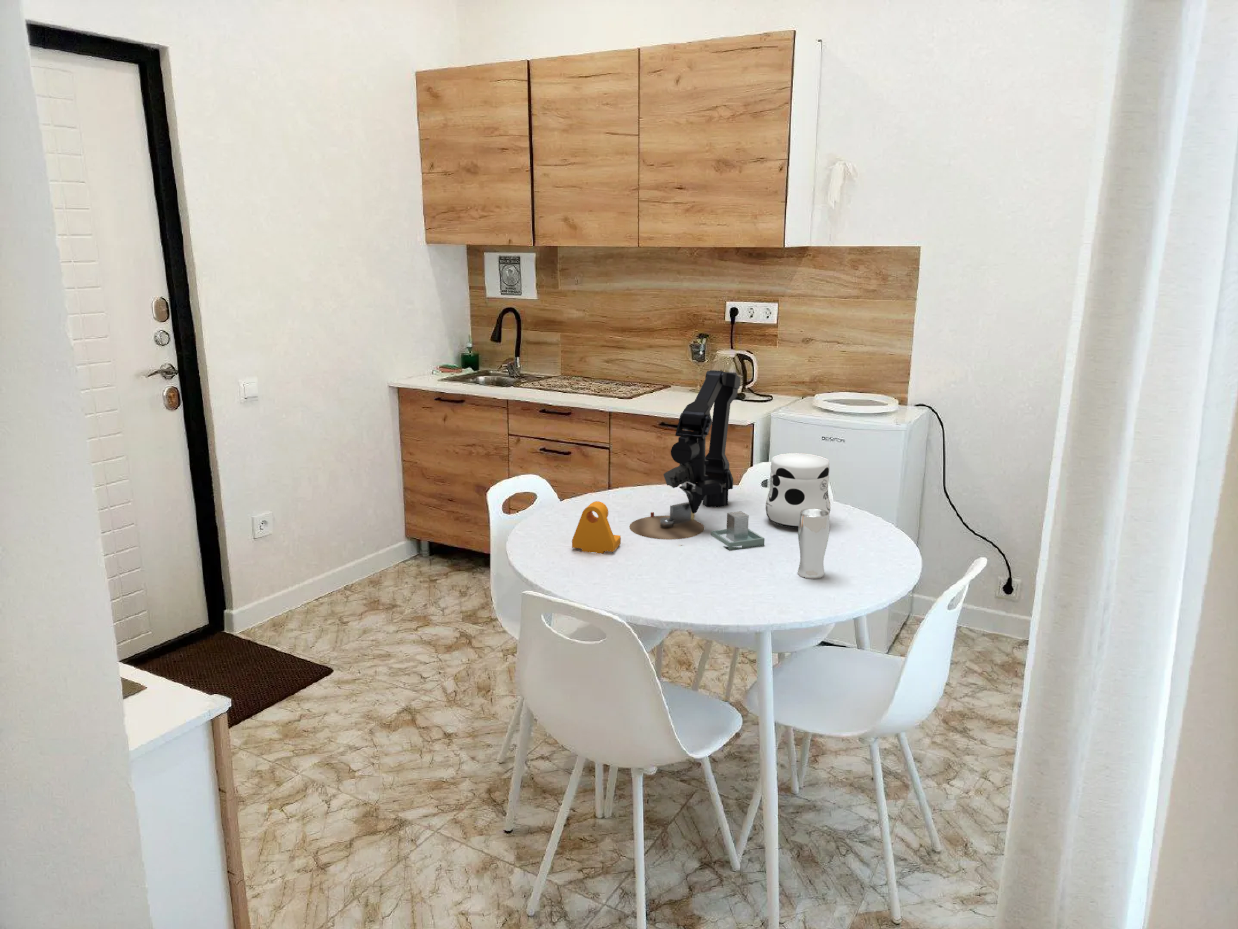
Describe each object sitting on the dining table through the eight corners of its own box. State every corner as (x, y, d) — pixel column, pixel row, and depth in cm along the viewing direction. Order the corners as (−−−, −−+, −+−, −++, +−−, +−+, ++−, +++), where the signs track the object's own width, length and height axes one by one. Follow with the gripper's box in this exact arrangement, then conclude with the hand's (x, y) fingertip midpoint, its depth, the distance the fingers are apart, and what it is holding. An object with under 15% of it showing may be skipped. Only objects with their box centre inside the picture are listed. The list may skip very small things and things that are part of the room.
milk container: (842, 525, 236) (847, 461, 232) (797, 537, 227) (800, 470, 222) (796, 510, 250) (799, 449, 246) (751, 520, 241) (754, 457, 236)
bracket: (621, 545, 221) (621, 500, 218) (613, 555, 214) (613, 508, 211) (581, 541, 224) (581, 496, 221) (572, 550, 217) (571, 504, 214)
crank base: (684, 515, 245) (684, 508, 244) (717, 537, 227) (717, 529, 226) (618, 523, 238) (618, 516, 237) (647, 546, 219) (647, 538, 219)
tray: (744, 534, 229) (744, 526, 229) (764, 545, 220) (764, 538, 220) (710, 538, 226) (711, 531, 225) (729, 550, 217) (729, 543, 216)
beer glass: (793, 568, 205) (796, 507, 201) (823, 569, 205) (827, 508, 201) (798, 579, 198) (801, 516, 195) (829, 580, 198) (833, 517, 194)
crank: (665, 528, 229) (665, 510, 228) (657, 524, 232) (657, 506, 231) (697, 521, 235) (697, 503, 234) (688, 517, 238) (689, 500, 237)
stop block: (740, 536, 226) (740, 511, 224) (747, 541, 222) (748, 515, 220) (726, 538, 224) (727, 512, 222) (733, 543, 221) (734, 517, 219)
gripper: (650, 453, 235) (651, 508, 238) (686, 466, 219) (686, 526, 222) (686, 448, 240) (686, 503, 243) (723, 461, 223) (722, 520, 227)
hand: (694, 513), depth 234 cm, fingers closed
